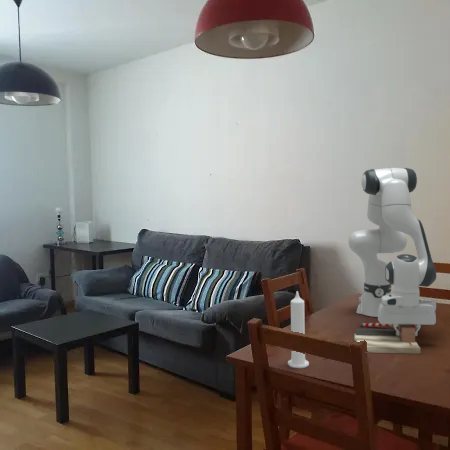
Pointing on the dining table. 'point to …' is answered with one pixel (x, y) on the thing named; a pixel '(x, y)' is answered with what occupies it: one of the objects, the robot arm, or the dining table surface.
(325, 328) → the dining table surface
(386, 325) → the toy hammer
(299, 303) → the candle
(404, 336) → the brown cardboard brick
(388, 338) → the board
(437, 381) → the dining table surface
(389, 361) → the dining table surface
